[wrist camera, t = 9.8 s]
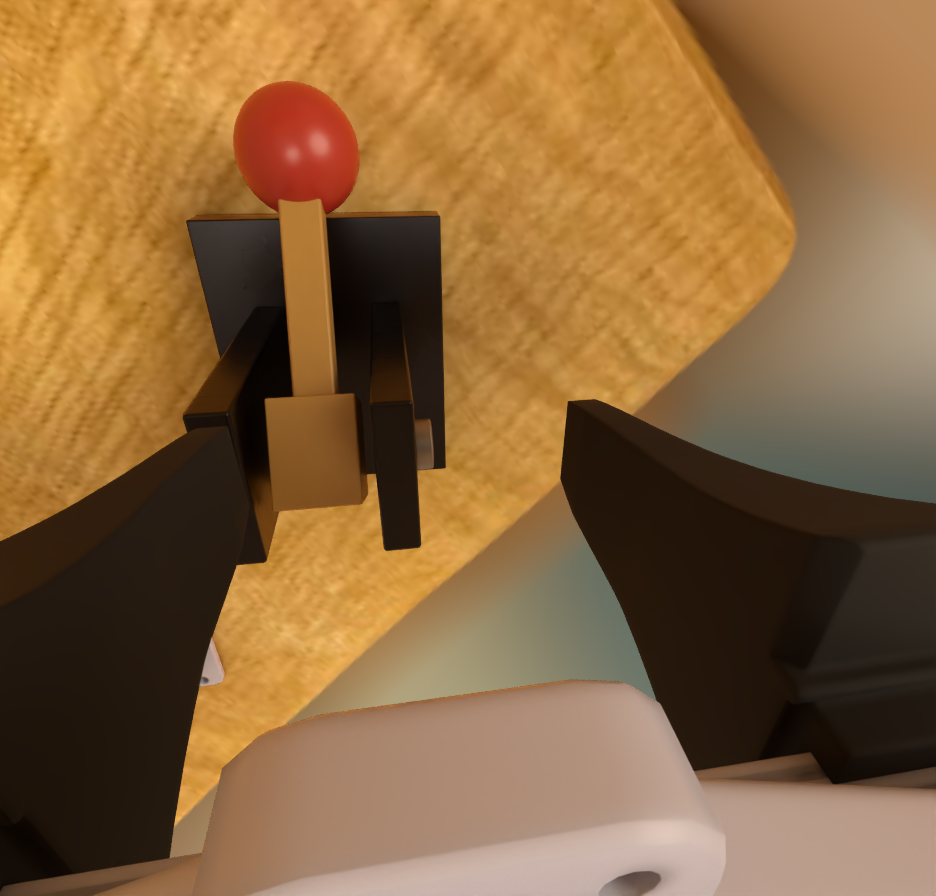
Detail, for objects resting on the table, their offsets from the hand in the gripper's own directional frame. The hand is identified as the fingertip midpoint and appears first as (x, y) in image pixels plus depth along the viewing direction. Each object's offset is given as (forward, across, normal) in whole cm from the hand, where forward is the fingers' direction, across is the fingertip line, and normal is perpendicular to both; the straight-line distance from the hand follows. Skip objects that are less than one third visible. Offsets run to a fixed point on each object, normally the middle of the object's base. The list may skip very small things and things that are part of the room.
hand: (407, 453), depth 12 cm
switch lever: (+6, +2, -1) cm, 7 cm away
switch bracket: (+10, +2, +1) cm, 11 cm away
